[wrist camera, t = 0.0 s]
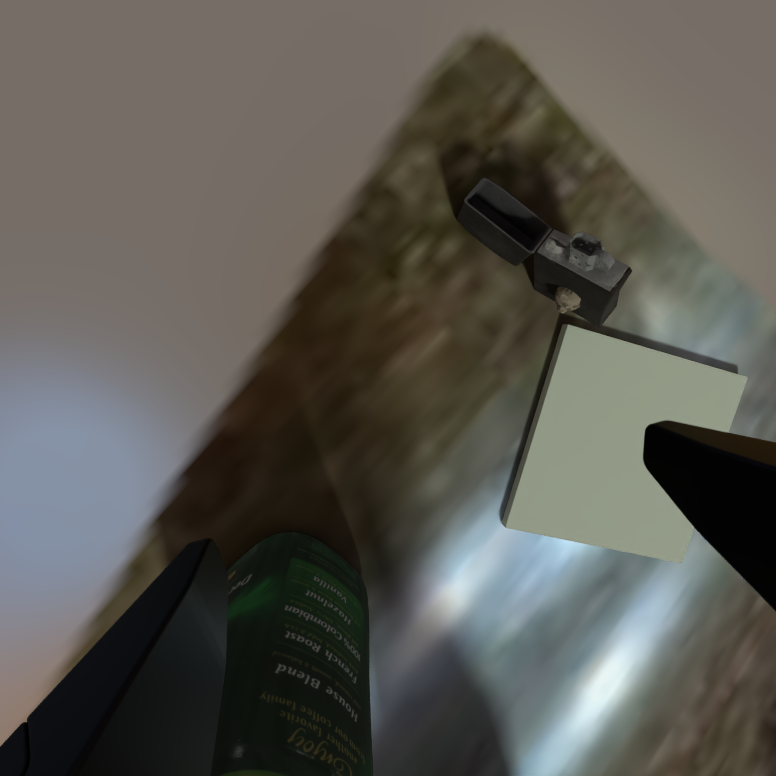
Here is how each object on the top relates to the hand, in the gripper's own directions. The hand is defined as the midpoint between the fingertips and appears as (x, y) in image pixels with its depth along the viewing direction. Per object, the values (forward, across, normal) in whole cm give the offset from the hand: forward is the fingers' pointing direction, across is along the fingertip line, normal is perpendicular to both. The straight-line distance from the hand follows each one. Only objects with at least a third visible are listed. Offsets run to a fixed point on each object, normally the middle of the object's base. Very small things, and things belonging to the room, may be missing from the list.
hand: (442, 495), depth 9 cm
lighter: (+16, -9, 0) cm, 19 cm away
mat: (+13, -14, +11) cm, 22 cm away
